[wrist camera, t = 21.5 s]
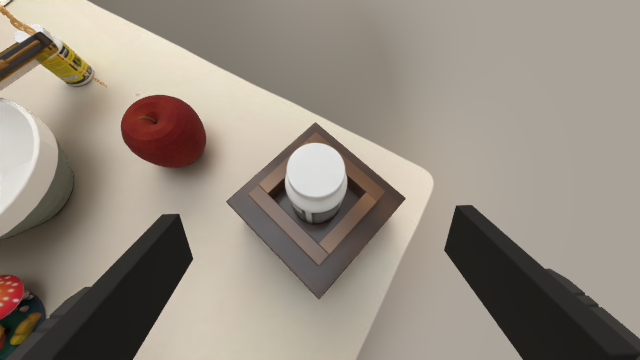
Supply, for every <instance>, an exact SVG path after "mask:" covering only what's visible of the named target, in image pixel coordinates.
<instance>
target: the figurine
mask: <svg viewBox="0 0 640 360" xmlns="http://www.w3.org/2000/svg"><path fill="white" fill-rule="evenodd" d="M44 321H45V312H44V307H43V305H42V303H41V301H40V300H39V298H38V297H37V296H35V295H34V294H33V293H30V292H29V291H28V290H26V291H24V285H23V283H22V281H21V280H20V279H19V278H18V277H16V276H13V275H1V276H0V360H5V359H6V358H7V357H8V356H9V355H10V354H11V353H12V352H13V351H14V350H15V349H16V348H17V347H18V346H19V345H20V344H21V343H22V342H23V341H24V340H25V339H26V338H27V337H28V336H29V335H30V334H31V333H33V332H35V331H36V329H37V328H38V327H39V326H40V325H41V324H42V323H43V322H44Z"/></svg>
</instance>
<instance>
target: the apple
mask: <svg viewBox="0 0 640 360" xmlns="http://www.w3.org/2000/svg"><path fill="white" fill-rule="evenodd" d="M121 132H122V137H123V140H124V142H125V143H126V145H127V146H128V147H129V148H130V150H131V151H132V152H133V153H135V154H136V155H137V156H139V157H140V158H142V159H144V160H146V161H148V162H150V163H153V164H155V165H159V166H163V167H169V168H179V167H184V166H187V165H189V164H191V163H193V162H194V161H195V160H197V159H198V158H199V157H200V155H201V154H202V152H203V150H204V148H205V144H206V134H205V130H204V127H203V124H202V122H201V120H200V118H199V116H198V115H197V113H196V112H195V111H194V110H193V109H192V108H191V106H190V105H188V104H187V103H185V102H184V101H182V100H180V99H178V98H175V97H171V96H166V95H153V96H148V97H145V98H142V99H140V100H138V101H136V102H135V103H133V104H132V105H131V106H130V107H129V108H128V109H127V111H126V112H125V114H124V116H123V118H122V121H121Z"/></svg>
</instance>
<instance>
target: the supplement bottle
mask: <svg viewBox="0 0 640 360" xmlns="http://www.w3.org/2000/svg"><path fill="white" fill-rule="evenodd" d="M28 26H30V27H31V28H33V29H34V30H35V31H36V32H40V31H41V32H43V33H44V34H45V35H46V36H47V37H49V38H50V39H51V40H52V41H54V43H55V44H56V45H57V47H58V48H59V50H58V53H59V54H61V55H63V56H64V58H67V59H68V60H69V61H70V62H71V63H74V65H76V66H77V67H79V70H78V69H77V67H74V65H73V66H72V65H71V63H69V62H66V61H67V59H66V61H65V60H64V58H61V57H60V56H59V55H58V54H53V55H52V56H50V57H49V58H48V59H46V60H45V61H43V62H42V63H41V64H42V65H43V66H44V67H46V68H47V69H48V70H50V71H51V72H52V73H54V74H55V75H56V76H58V77H59V78H60V79H62V80H63V81H64V82H66V83H67V84H69V85H71V86H81V85H84V84H86V83H88V82H89V81H90V80H91V79H92V78H91V77H92V76H93V74H94V73H93V69H92V68H91V67H90V66H89V65H88V64H87V63H86V62H85V61H84V60H82V59H81V58H80V57H79V56H78V55H77V54H76V53H75V52H74V51H72V50H71V49H70V48H69V47H68V46H67V45H66V44H65V43H63V42H62V41H61V40H60V39H59V38H57V37H55V36H52V35H51V34H50V33H49V32H48V31H46V30H45V29H44V28H43V27H42V26H40V25H37V24H30V25H28ZM22 29H23V28H22ZM31 34H32V33H31ZM29 37H30V35H29V34H27V33H25V32H24V31H21V30H18V31H17V32H16V33H15V35H14V40H15V41H16V42H19V43H21V42H22V41H24V40H25V39H27V38H29ZM80 68H81V69H82V70H83V71H86V72H87V73H88V74H89V75H92V76H90V77H89V75H86V72H85V74H84V72H83V71H80Z"/></svg>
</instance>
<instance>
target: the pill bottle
mask: <svg viewBox="0 0 640 360" xmlns="http://www.w3.org/2000/svg"><path fill="white" fill-rule="evenodd" d="M285 188H286V192H287V195H288V198H289V200H290V202H291V205H292V207H293V210H294V212H295V213H296V215H297V216H298V217H299V218H300V219H302V220H303V221H305V222H307V223H311V224H322V223H325V222H327V221H329V220H331V219H332V218H333V217H334V216H335V215H336V214H337V212H338V211H339V208H340V206H341V203H342V201H343V198H344V196H345V193H346V190H347V175H346V172H345V165H344V161H343V159H342V157H341V155H340V154H339V153H338V152H337V151H336V150H335V149H333V148H332V147H330V146H328V145H325V144H321V143H310V144H306V145H303V146H301V147H300V148H298V149H297V150H296V151H295V152H294V153H293V154H292V155H291V157H290V159H289V161H288V164H287V173H286V177H285Z"/></svg>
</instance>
